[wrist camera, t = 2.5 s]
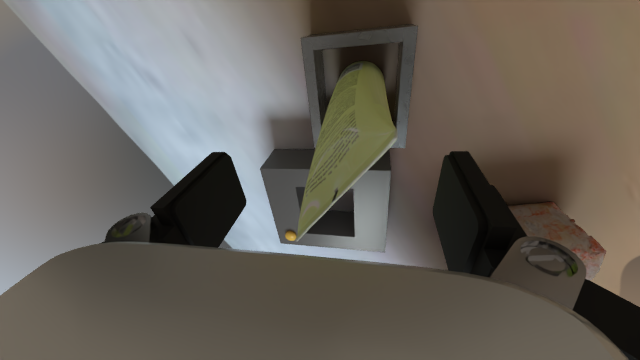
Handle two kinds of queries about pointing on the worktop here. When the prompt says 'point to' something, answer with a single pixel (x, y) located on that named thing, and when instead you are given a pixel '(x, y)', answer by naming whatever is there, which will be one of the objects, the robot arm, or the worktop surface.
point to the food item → (560, 232)
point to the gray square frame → (371, 36)
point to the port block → (334, 226)
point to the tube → (347, 140)
